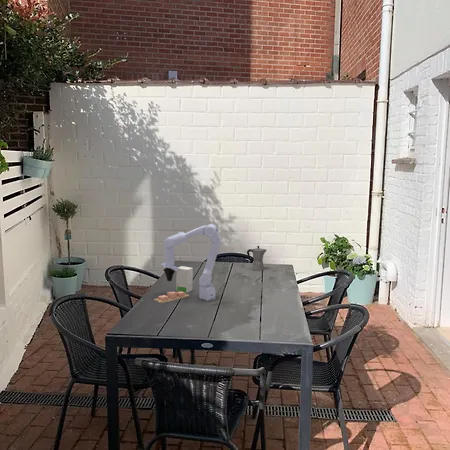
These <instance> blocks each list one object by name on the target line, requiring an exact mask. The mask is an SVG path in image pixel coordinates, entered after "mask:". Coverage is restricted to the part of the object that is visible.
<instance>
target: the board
mask: <svg viewBox="0 0 450 450" xmlns="http://www.w3.org/2000/svg"><path fill="white" fill-rule="evenodd" d="M190 297H191V296H190V295H189V294H186V293H185V296H182V297H178V296H177V298H173V299H170V298H168V300H164V301H161V300H159V299H158V297H157V298H153V301H154V302H157V303H159V304H165V303H168V302H175V301H179V300H184V299H187V298H190Z"/></svg>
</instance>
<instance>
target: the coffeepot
mask: <svg viewBox="0 0 450 450" xmlns="http://www.w3.org/2000/svg"><path fill="white" fill-rule="evenodd" d="M251 252H252V258H251V254H250V253H251ZM266 252H267V249H265V248H260V245H257V247H256V248H249V249H247V250H246V254H247V257H248V260H249V261H253V262H252V266H251V270H252V271H254V272H259V271H260V272H261V271H264V270H265V266H264V261H263V259H264V255H265V253H266Z"/></svg>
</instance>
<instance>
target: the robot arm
mask: <svg viewBox="0 0 450 450" xmlns="http://www.w3.org/2000/svg"><path fill="white" fill-rule="evenodd" d="M219 231H220V230H219V228H218V227H217V225H215V224H214V223H209V224H208V225H207V224H206V225H205V224H204V225H202V226H199V227H197V228H194V229H192V230H190V231H188V232H183V231H178V232H177V234H174V235H172V234H171V235H169V236H168V237H166V238H165V239H164V240H163V246H164V252H163V253H164V256H163V257H164V262H162V263H160V267H161V268H163V271H164V274H165V276H166V280H167V282H171V281H172V280H173V277H174V274H175V272H177V271H178V266H176V265H175V246H177V245H180V244H182V243H185V242H187V239H189V238H192V237H194V236H198V235H201V236H205V237H207V238H208V239H209V240H210V242H211V245H210V250H209V251H208V252H209V253H208V255H207V258H206V263H205V266H204V269H203V271H202V274H201V275H200V276H199V278H198V282H199V285H198V286H199V293H198V298H199V299H200V300H203V301H204V300H205V301H212V300H216V288H215V287H214V286H213V284H212V282H211V281H212V279H213V275H212V273H213V270H214V266H215V262H216V259H217V255H218V253H219V249H220V245H221V243H222V238H221V236H220V232H219Z"/></svg>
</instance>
